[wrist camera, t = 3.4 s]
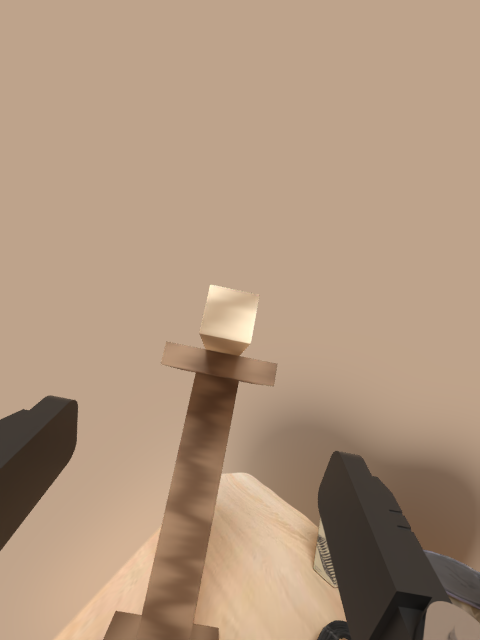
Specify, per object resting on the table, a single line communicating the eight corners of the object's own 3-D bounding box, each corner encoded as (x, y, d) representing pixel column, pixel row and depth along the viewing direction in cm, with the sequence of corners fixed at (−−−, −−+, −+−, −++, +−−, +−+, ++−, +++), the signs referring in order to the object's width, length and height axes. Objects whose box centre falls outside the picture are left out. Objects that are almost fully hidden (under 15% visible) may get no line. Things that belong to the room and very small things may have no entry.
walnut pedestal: (215, 644, 33) (262, 370, 40) (213, 854, 19) (288, 365, 25) (112, 628, 33) (178, 353, 40) (27, 829, 18) (155, 339, 25)
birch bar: (230, 364, 40) (235, 343, 41) (250, 343, 16) (259, 294, 17) (209, 360, 40) (214, 339, 40) (199, 333, 16) (210, 284, 17)
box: (312, 569, 51) (321, 492, 54) (328, 565, 54) (336, 491, 56) (335, 590, 47) (344, 504, 50) (352, 585, 49) (360, 503, 52)
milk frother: (552, 834, 23) (545, 615, 26) (369, 825, 21) (385, 594, 24) (419, 661, 37) (425, 532, 40) (302, 648, 35) (318, 515, 38)
